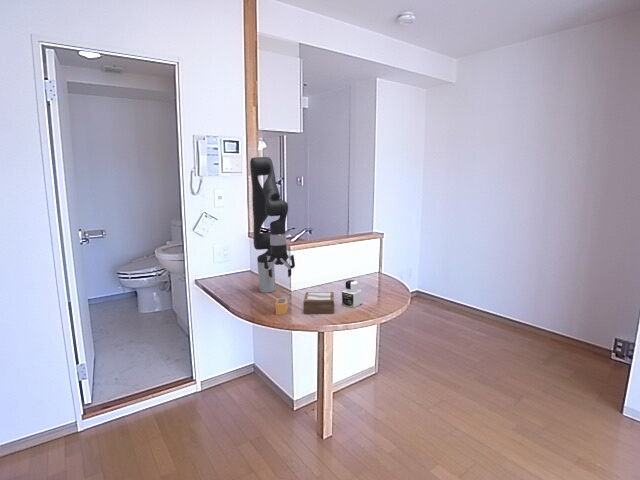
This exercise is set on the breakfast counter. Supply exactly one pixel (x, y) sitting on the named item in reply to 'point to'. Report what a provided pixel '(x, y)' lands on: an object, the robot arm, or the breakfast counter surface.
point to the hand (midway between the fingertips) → (280, 276)
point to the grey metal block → (286, 297)
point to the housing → (281, 305)
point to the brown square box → (319, 303)
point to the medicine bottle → (351, 294)
